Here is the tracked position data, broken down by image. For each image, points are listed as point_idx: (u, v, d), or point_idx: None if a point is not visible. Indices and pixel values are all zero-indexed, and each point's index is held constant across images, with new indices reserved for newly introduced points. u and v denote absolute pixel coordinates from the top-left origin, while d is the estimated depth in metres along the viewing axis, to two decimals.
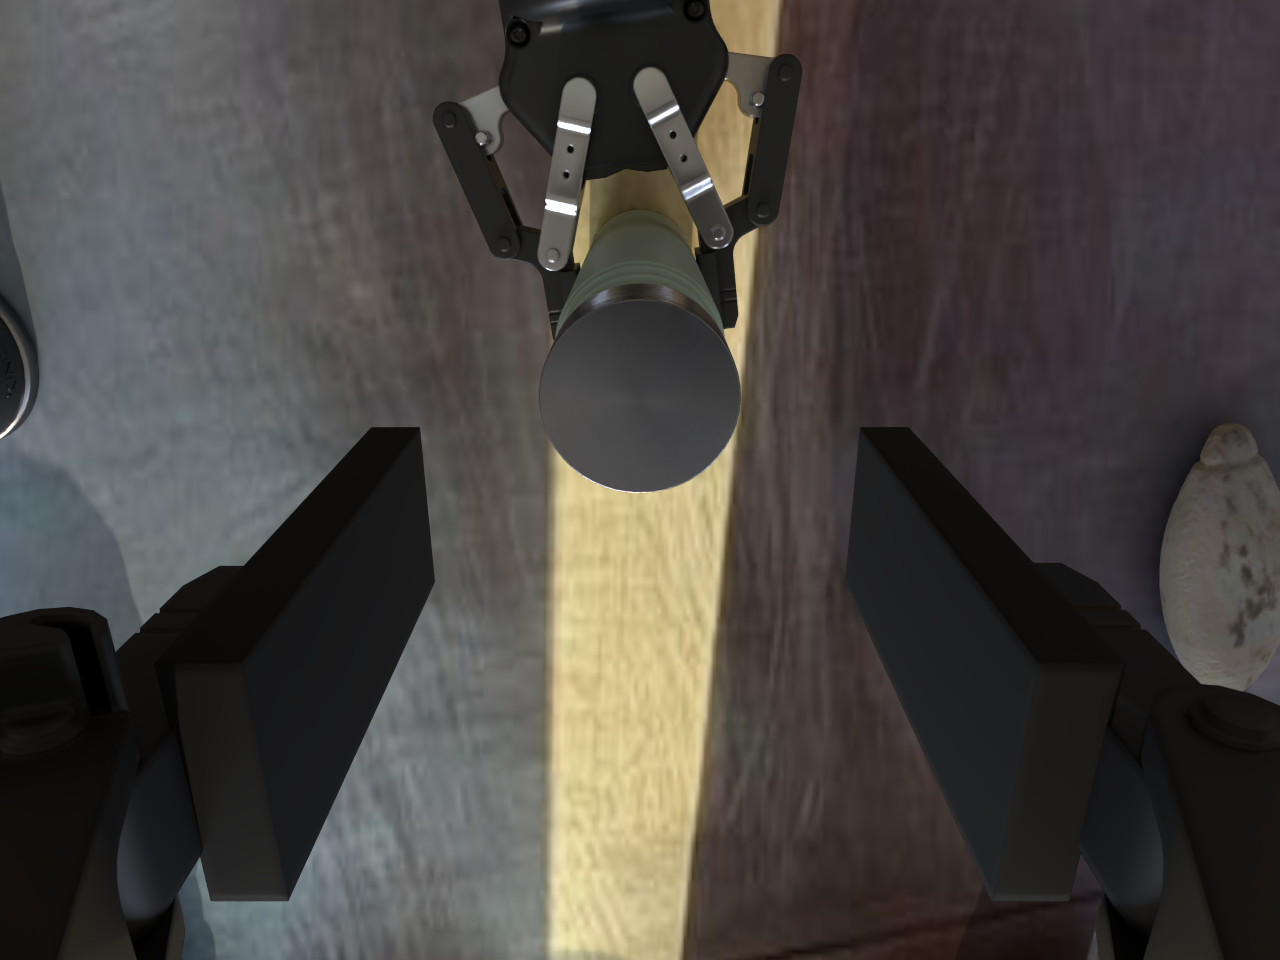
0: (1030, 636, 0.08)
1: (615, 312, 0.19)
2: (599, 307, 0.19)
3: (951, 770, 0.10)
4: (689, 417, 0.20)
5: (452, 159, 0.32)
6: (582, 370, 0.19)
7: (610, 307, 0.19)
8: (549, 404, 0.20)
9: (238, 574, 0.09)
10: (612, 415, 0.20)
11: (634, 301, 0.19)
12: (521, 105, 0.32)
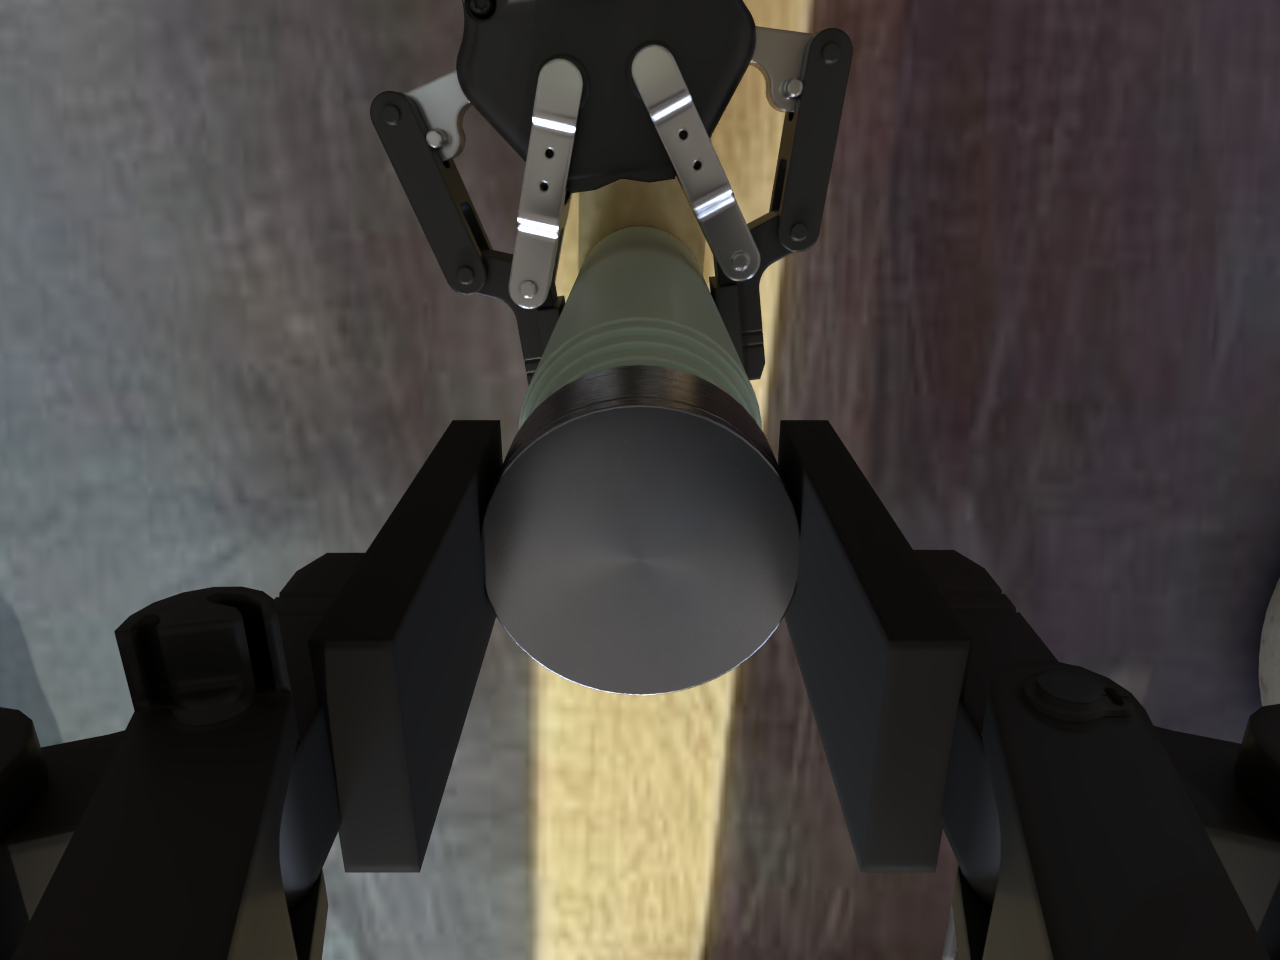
0: (889, 616, 0.08)
1: (599, 425, 0.12)
2: (573, 418, 0.12)
3: (836, 748, 0.10)
4: (719, 585, 0.12)
5: (396, 166, 0.25)
6: (547, 515, 0.12)
7: (591, 418, 0.11)
8: (495, 566, 0.12)
9: (364, 558, 0.09)
10: (596, 583, 0.12)
11: (631, 408, 0.11)
12: (485, 96, 0.24)
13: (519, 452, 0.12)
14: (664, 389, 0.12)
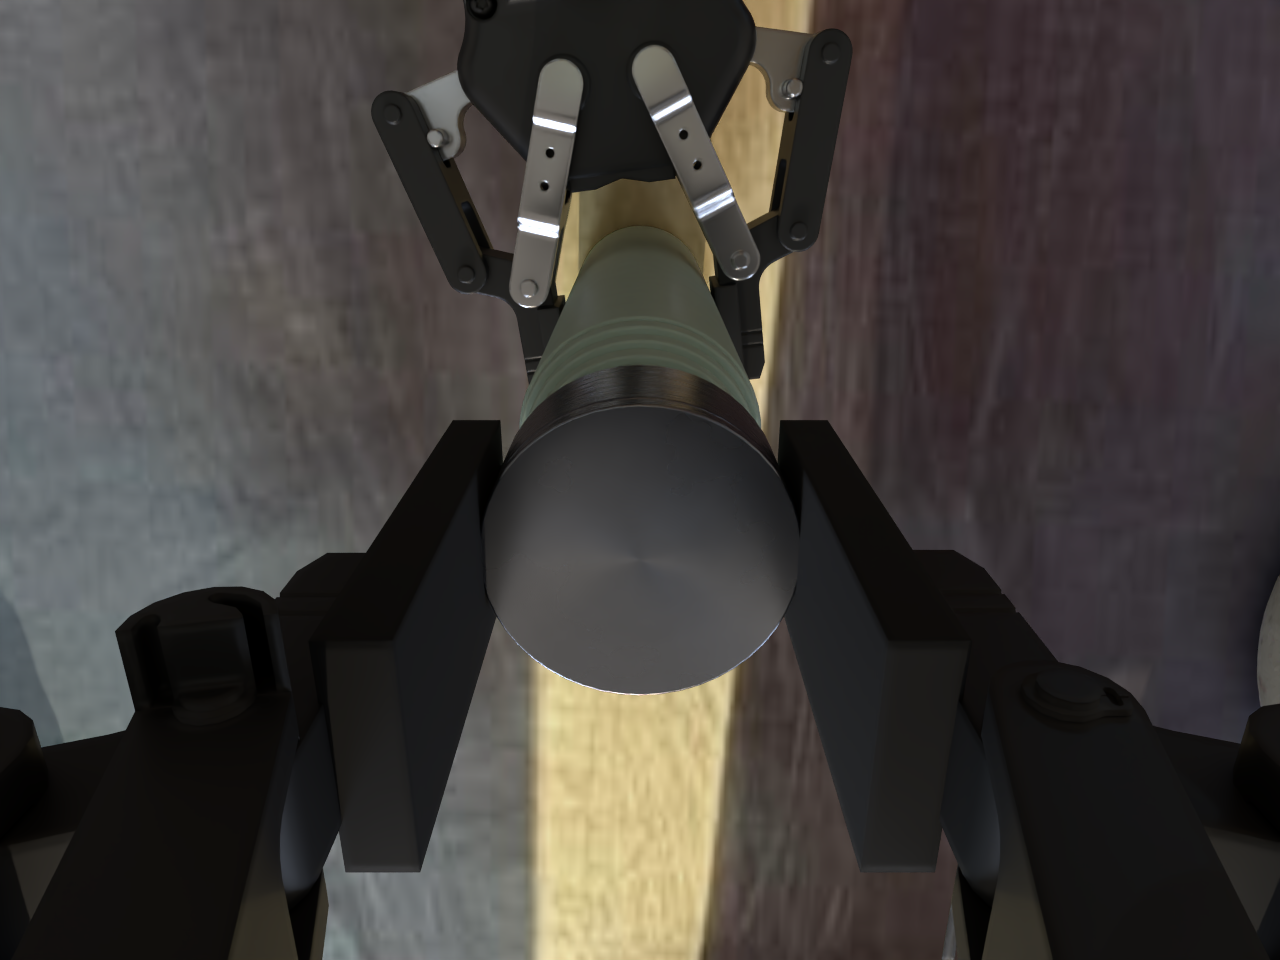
0: (888, 616, 0.08)
1: (495, 576, 0.12)
2: (487, 596, 0.12)
3: (835, 748, 0.10)
4: (681, 489, 0.12)
5: (397, 166, 0.25)
6: (581, 632, 0.13)
7: (488, 582, 0.12)
8: (628, 682, 0.13)
9: (364, 558, 0.09)
10: (659, 602, 0.12)
11: (482, 547, 0.12)
12: (486, 96, 0.24)
13: (518, 643, 0.13)
14: None
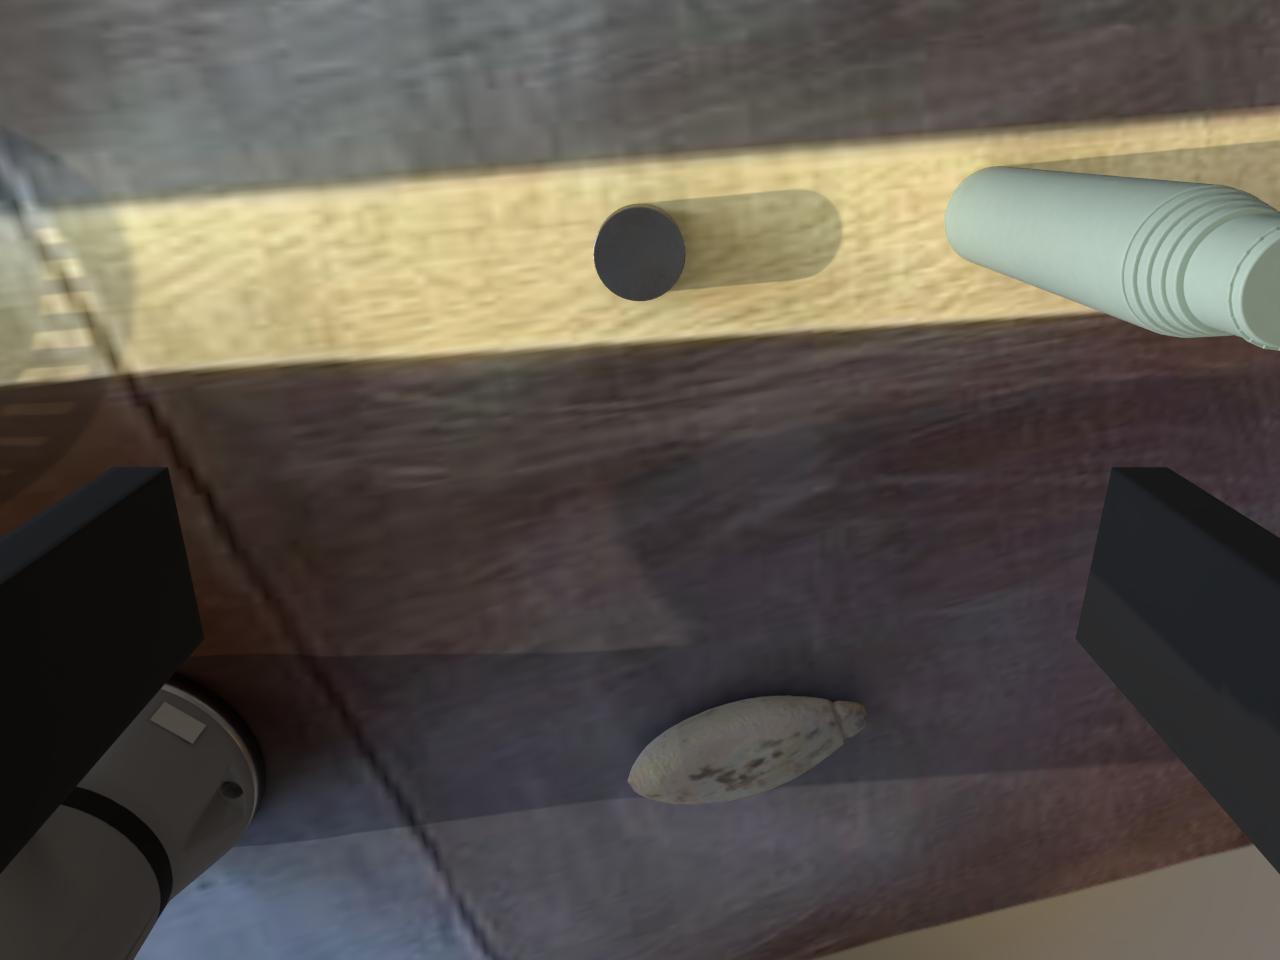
0: None
1: (650, 213, 0.42)
2: (645, 207, 0.42)
3: None
4: (654, 274, 0.44)
5: None
6: (624, 228, 0.43)
7: (650, 210, 0.42)
8: (602, 234, 0.43)
9: None
10: (624, 254, 0.43)
11: (660, 213, 0.43)
12: None
13: (627, 208, 0.42)
14: (668, 216, 0.43)
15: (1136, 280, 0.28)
